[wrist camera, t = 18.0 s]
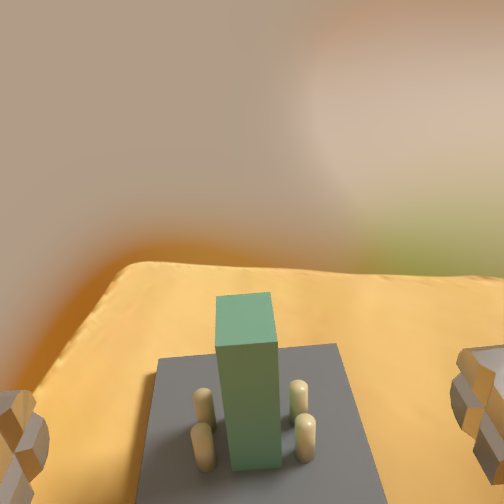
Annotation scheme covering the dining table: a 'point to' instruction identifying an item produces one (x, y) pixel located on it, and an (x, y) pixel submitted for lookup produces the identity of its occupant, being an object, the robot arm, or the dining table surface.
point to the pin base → (292, 437)
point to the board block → (249, 379)
